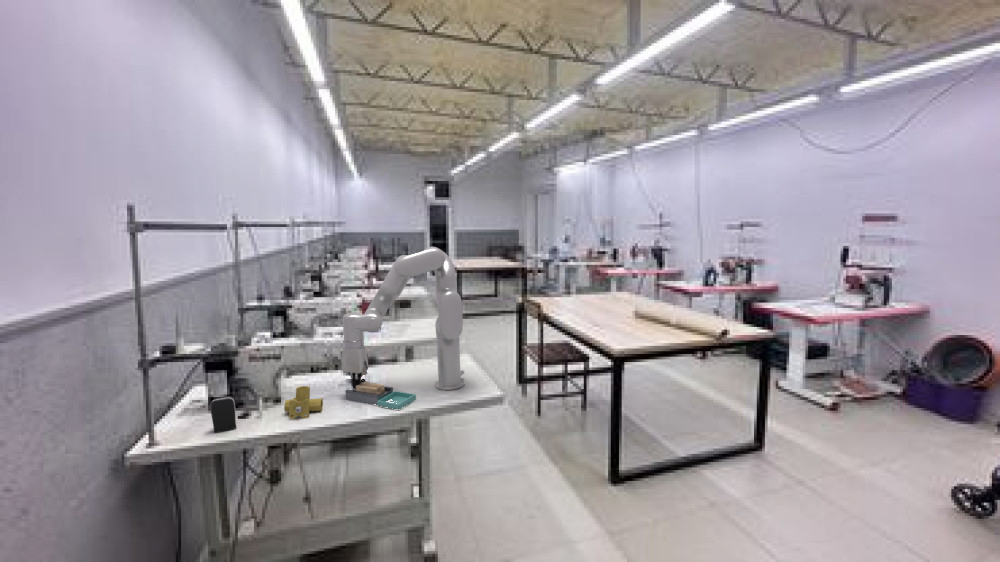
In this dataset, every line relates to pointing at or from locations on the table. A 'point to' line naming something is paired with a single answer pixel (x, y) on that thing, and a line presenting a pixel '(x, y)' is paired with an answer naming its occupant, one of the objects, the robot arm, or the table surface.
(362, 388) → the chip
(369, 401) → the rail plate
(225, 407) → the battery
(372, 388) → the chip
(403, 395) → the tray
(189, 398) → the table surface
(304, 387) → the ball valve
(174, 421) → the table surface
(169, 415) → the table surface
